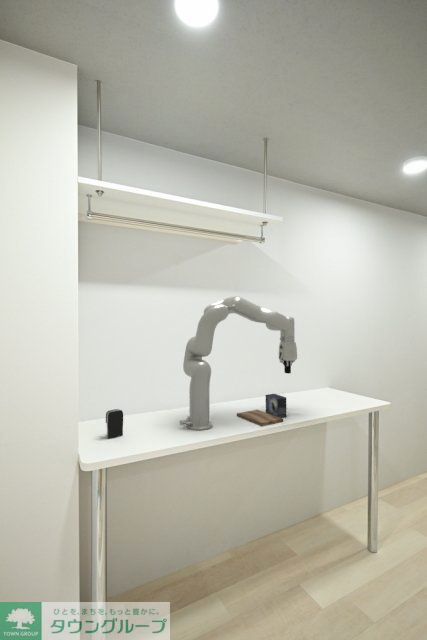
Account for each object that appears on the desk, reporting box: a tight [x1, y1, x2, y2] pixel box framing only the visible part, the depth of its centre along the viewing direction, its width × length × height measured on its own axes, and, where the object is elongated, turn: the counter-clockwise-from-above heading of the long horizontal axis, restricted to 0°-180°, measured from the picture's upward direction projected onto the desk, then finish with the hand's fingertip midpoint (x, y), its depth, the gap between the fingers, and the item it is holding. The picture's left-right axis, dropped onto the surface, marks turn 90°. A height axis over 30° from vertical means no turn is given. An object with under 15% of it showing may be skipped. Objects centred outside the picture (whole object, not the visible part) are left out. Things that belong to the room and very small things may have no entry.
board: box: [236, 409, 284, 427], centre depth 165 cm, size 14×20×2 cm
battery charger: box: [105, 408, 124, 439], centre depth 140 cm, size 7×4×11 cm, turn 130°
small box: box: [265, 393, 288, 419], centre depth 172 cm, size 11×6×10 cm, turn 27°
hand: (287, 373), depth 177 cm, fingers closed
